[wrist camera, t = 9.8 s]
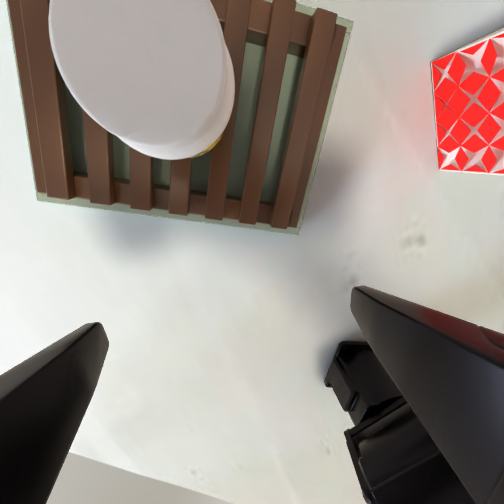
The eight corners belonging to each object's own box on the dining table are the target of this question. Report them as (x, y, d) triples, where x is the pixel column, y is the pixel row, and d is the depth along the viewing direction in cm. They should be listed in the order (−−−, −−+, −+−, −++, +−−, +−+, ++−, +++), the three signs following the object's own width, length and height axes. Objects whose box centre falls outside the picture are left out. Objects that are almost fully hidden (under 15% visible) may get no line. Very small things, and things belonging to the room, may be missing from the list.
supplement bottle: (172, 172, 14) (119, 194, 7) (120, 88, 12) (-38, -20, 5) (242, 133, 14) (272, 109, 6) (200, 41, 12) (171, -154, 4)
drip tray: (344, 30, 15) (353, 21, 14) (294, 230, 20) (298, 235, 19) (11, -75, 12) (-10, -99, 11) (48, 197, 17) (36, 200, 16)
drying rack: (335, 38, 15) (355, 19, 13) (290, 222, 19) (300, 231, 17) (20, -58, 12) (-25, -107, 9) (52, 189, 16) (26, 194, 14)
